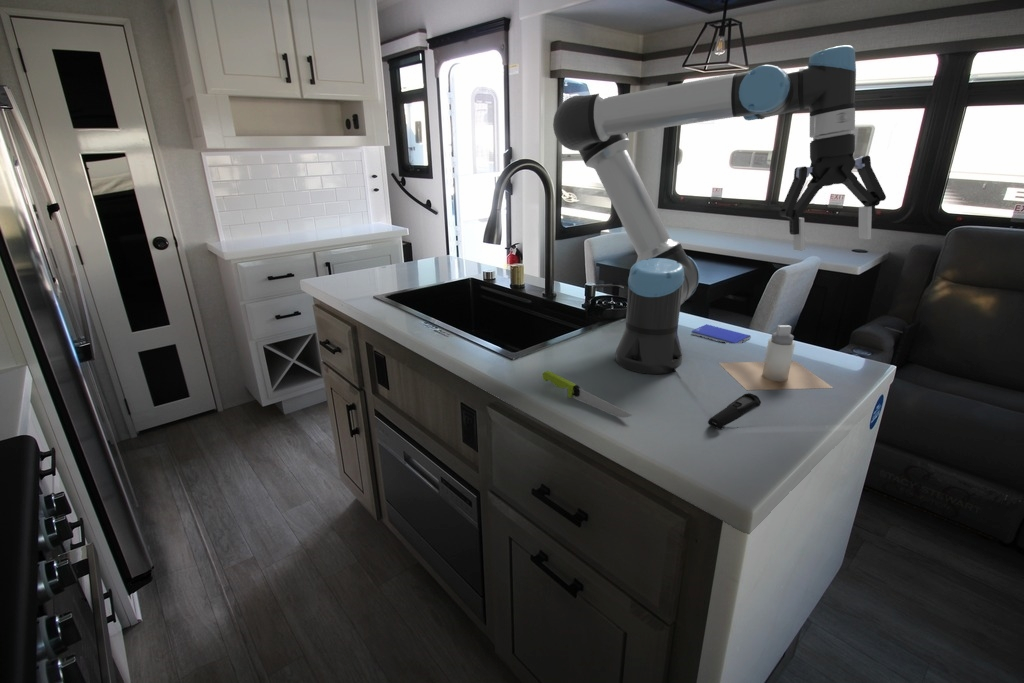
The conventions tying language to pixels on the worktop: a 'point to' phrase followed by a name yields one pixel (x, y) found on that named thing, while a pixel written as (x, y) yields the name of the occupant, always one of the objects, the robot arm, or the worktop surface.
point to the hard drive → (720, 334)
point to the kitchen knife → (584, 395)
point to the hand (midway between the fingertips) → (831, 244)
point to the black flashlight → (734, 410)
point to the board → (753, 380)
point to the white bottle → (779, 354)
